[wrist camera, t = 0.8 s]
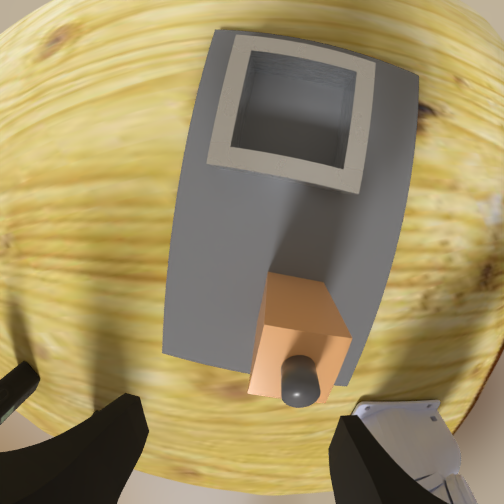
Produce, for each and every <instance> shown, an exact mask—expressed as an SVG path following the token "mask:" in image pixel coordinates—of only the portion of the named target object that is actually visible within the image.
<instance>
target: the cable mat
mask: <svg viewBox="0 0 504 504" xmlns="http://www.w3.org/2000/svg"><path fill="white" fill-rule="evenodd" d="M236 35H248V36H258V37H267V38H274V39H281V40H287V41H293V42H299V43H304V44H309V45H314V46H318V47H323V48H327V49H331V50H335V51H339V52H342V53H346V54H349V55H353V56H356V57H359V58H363V59H366V60H369V61H372V62H375V63H376V65H375V80H374V92H373V103H372V112H371V121H370V129H369V136H368V143H367V150H366V157H365V163H364V169H363V175H362V181H361V186H360V191H359V194H343V193H339V192H335V191H331V190H326V189H322V188H318V187H313V186H309V185H304V184H300V183H295V182H290V181H285V180H280V179H275V178H270V177H264V176H259V175H253V174H248V173H242V172H236V171H230V170H223V169H218V168H215V167H213V166H210V165H208V164H206V163H207V157H208V152H209V147H210V142H211V137H212V132H213V127H214V122H215V118H216V113H217V109H218V104H219V100H220V95H221V91H222V87H223V83H224V79H225V75H226V71H227V67H228V63H229V59H230V55H231V51H232V47H233V44H234V40H235V36H236ZM343 92H344V90H342V89H338V88H334V87H330V86H326V85H322V84H318V83H314V82H309V81H304V80H299V79H294V78H289V77H283V76H277V75H271V74H264V73H257V72H255V74H254V79H253V84H252V88H251V93H250V98H249V102H248V107H247V112H246V117H245V122H244V127H243V132H242V137H241V142H240V147H239V148H242V149H249V150H255V151H260V152H266V153H272V154H277V155H282V156H287V157H292V158H297V159H302V160H306V161H311V162H315V163H319V164H324V165H328V166H332V164H333V159H334V153H335V147H336V141H337V135H338V128H339V121H340V114H341V107H342V100H343ZM418 96H419V76H418V75H416V74H414V73H411V72H409V71H407V70H404V69H402V68H399V67H397V66H394V65H392V64H389V63H386V62H384V61H381V60H378V59H375V58H372V57H369V56H366V55H363V54H360V53H357V52H354V51H350V50H347V49H343V48H339V47H336V46H332V45H328V44H323V43H319V42H315V41H310V40H305V39H300V38H294V37H288V36H282V35H275V34H268V33H259V32H249V31H236V30H215V32H214V35H213V38H212V42H211V45H210V48H209V52H208V55H207V59H206V62H205V66H204V70H203V73H202V77H201V81H200V85H199V89H198V93H197V97H196V101H195V105H194V110H193V114H192V118H191V123H190V128H189V132H188V137H187V142H186V147H185V152H184V157H183V163H182V168H181V174H180V180H179V186H178V192H177V199H176V205H175V212H174V219H173V227H172V235H171V243H170V251H169V261H168V271H167V282H166V294H165V307H164V324H163V346H162V353H164V354H167V355H171V356H174V357H178V358H182V359H186V360H189V361H193V362H197V363H201V364H206V365H210V366H214V367H219V368H223V369H228V370H233V371H238V372H243V373H248V374H250V372H251V364H252V357H253V349H254V342H255V334H256V326H257V320H258V316H259V311H260V306H261V302H262V297H263V292H264V288H265V283H266V278H267V273H268V272H272V273H277V274H283V275H288V276H293V277H298V278H304V279H309V280H314V281H320V282H324V284H325V286H326V288H327V290H328V292H329V293H330V295H331V297H332V299H333V301H334V303H335V305H336V307H337V309H338V311H339V313H340V315H341V316H342V318H343V320H344V322H345V324H346V326H347V328H348V330H349V332H350V334H351V336H352V341H351V344H350V346H349V349H348V352H347V354H346V357H345V359H344V362H343V364H342V367H341V369H340V371H339V374H338V376H337V379H336V381H335V383H334V385H337V386H347V385H348V383H349V381H350V379H351V377H352V374H353V372H354V370H355V368H356V365H357V363H358V361H359V358H360V356H361V353H362V351H363V348H364V346H365V343H366V341H367V338H368V336H369V333H370V330H371V328H372V325H373V322H374V319H375V317H376V314H377V311H378V308H379V305H380V302H381V299H382V296H383V293H384V290H385V286H386V283H387V280H388V276H389V273H390V269H391V266H392V262H393V259H394V255H395V251H396V247H397V243H398V239H399V235H400V231H401V226H402V222H403V217H404V212H405V207H406V202H407V197H408V191H409V185H410V179H411V172H412V165H413V158H414V149H415V140H416V130H417V116H418Z"/></svg>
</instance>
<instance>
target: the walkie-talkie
mask: <svg viewBox="0 0 504 504" xmlns="http://www.w3.org/2000/svg"><path fill="white" fill-rule="evenodd" d="M39 381H40V379H39V376H38V375H37V374H36V373H35V371H34V370H33V369H32V368H31V367H30V366H29V364H28V363H27V362H25V361H23V362H22V363H20V364H19V365H18V366H17V367H15V368H14V369H13V370H12V371H10V372H9V373H8V374H7V375H6V376H4V377H3V378H2V379H1V380H0V425H1V424H2V423H3V422H4V421H5V420H6V419H7V417H9V416H10V414H12V413H13V412H14V411H15V410H16V409H17V408H18V407H19V406H20V405H21V404H22V403H23V402H24V401H25V400H26V399H27V398H28V397H29V396H30V395H31V394H32V393H33V392H34V391H35V390H36V388H37V386H38V383H39Z"/></svg>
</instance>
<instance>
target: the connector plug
mask: <svg viewBox="0 0 504 504" xmlns="http://www.w3.org/2000/svg"><path fill="white" fill-rule="evenodd" d="M351 341H352V336H351V334H350V332H349V330H348V328H347V326H346V324H345V322H344V320H343V318H342V316H341V315H340V313H339V311H338V309H337V307H336V305H335V303H334V301H333V299H332V297H331V295H330V293H329V292H328V290H327V288H326V286H325V284H324V282H320V281H314V280H309V279H304V278H298V277H293V276H288V275H283V274H277V273H272V272H268V273H267V278H266V283H265V288H264V292H263V297H262V302H261V306H260V311H259V316H258V320H257V326H256V334H255V342H254V349H253V357H252V364H251V372H250V379H249V386H248V393H249V394H255V395H261V396H267V397H274V398H281V399H282V400H283V401H284V403H286V404H287V405H289V406H291V407H296V408H301V407H306V406H309V405H311V404H313V403H315V402H316V403H326V401H327V399H328V397H329V394H330V392H331V390H332V388H333V385H334V383H335V381H336V379H337V376H338V374H339V371H340V369H341V367H342V364H343V362H344V359H345V357H346V354H347V352H348V349H349V346H350V344H351Z"/></svg>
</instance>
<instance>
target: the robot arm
mask: <svg viewBox="0 0 504 504" xmlns="http://www.w3.org/2000/svg"><path fill="white" fill-rule="evenodd" d="M439 405H440V401H439V400H425V401H403V402H360V403H359V404H357V406H356V408H355V409H354V411H353V413H352V415H347V416H340V419H339V422H338V425H337V428H336V431H335V433H334V436H333V439H332V441H331V444H330V446H329V453H328V455H329V466H330V475H331V481H332V486H333V491H334V496H335V502H336V504H478V503H477V501H476V499H475V497H474V495H473V493H472V491H471V489H470V487H469V486H468V484H467V482H466V480H465V479H464V477H463V476H462V475H460V474H458V472H459V469H460V465H461V453H460V449H459V446H458V444H457V442H456V440H455V439H454V437H453V435H452V434H451V432H450V430H449V429H448V427H447V425H446V424H445V422H444V420H443V419H442V417H441V415H440V414H439V412H438V411H437V409H438V407H439ZM367 406H369V407H367ZM148 433H149V429H148V426H147V422H146V419H145V415H144V412H143V408H142V404H141V400H140V397H138V396H134V395H131V394H127V393H125V394H123V395H122V396H120V397H119V398H118V399H116V400H115V401H113V402H112V403H110V404H109V405H107V406H106V407H105V408H103V409H102V410H100V411H99V412H97V413H96V414H94V415H93V416H91V417H90V418H88V419H87V420H85V421H83V422H82V423H80V424H78V425H77V426H75V427H73V428H71V429H69V430H68V431H66V432H64V433H62V434H60V435H58V436H56V437H54V438H51V439H49V440H46V441H44V442H41V443H39V444H35V445H32V446H29V447H25V448H22V449H18V450H13V451H8V452H0V504H117V502H118V499H119V497H120V494H121V492H122V490H123V488H124V486H125V484H126V482H127V480H128V479H129V477H130V475H131V473H132V471H133V469H134V467H135V465H136V463H137V461H138V459H139V457H140V455H141V453H142V451H143V448H144V445H145V442H146V439H147V436H148Z"/></svg>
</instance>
